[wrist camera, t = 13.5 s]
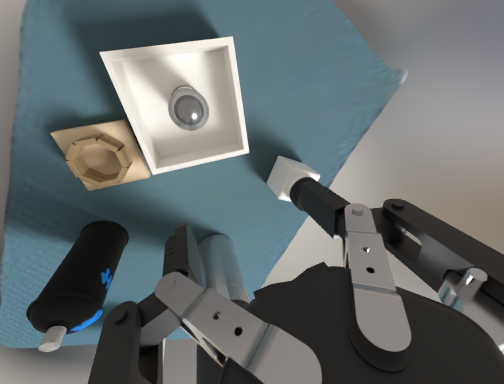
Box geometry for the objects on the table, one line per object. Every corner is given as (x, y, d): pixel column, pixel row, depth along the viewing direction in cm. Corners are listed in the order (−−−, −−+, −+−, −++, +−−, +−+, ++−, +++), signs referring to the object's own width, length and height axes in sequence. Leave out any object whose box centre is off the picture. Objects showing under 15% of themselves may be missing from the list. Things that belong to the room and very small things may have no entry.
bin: (241, 143, 39) (249, 152, 34) (157, 161, 36) (153, 174, 31) (225, 43, 31) (232, 36, 26) (114, 57, 28) (99, 52, 23)
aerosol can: (72, 243, 39) (-12, 365, 22) (92, 213, 37) (16, 321, 21) (117, 256, 43) (73, 367, 27) (136, 230, 42) (103, 331, 25)
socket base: (150, 174, 37) (146, 184, 33) (92, 187, 35) (80, 200, 31) (125, 118, 32) (117, 123, 28) (55, 130, 30) (37, 138, 26)
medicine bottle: (265, 183, 45) (288, 213, 35) (277, 154, 43) (306, 177, 32) (290, 189, 48) (318, 218, 38) (303, 163, 45) (337, 186, 35)
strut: (200, 86, 32) (211, 89, 20) (201, 116, 34) (212, 135, 22) (169, 84, 30) (163, 85, 19) (173, 115, 32) (168, 135, 21)
